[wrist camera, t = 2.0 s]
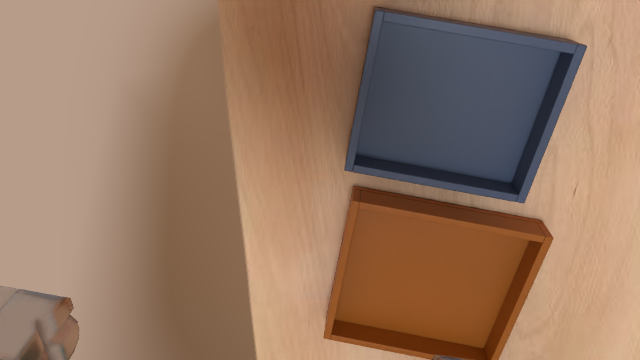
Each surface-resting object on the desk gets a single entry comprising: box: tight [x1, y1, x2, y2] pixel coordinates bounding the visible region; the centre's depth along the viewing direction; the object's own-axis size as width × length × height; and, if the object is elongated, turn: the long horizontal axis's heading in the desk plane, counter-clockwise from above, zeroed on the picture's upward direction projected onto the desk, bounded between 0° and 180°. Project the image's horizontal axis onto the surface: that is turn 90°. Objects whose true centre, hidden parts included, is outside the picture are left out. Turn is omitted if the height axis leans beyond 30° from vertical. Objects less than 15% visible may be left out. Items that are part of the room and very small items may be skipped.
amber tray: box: [324, 186, 553, 360], centre depth 38 cm, size 15×14×3 cm
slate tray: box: [344, 7, 587, 203], centre depth 31 cm, size 13×11×3 cm
